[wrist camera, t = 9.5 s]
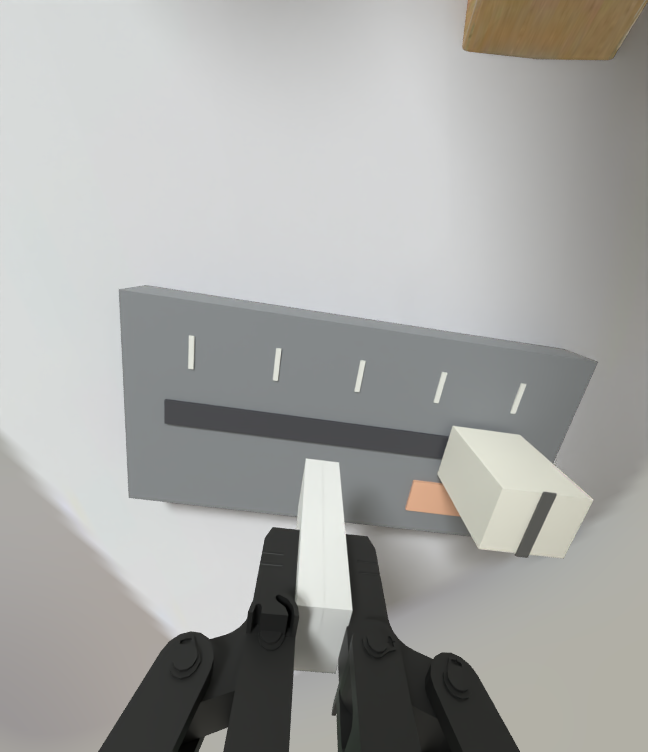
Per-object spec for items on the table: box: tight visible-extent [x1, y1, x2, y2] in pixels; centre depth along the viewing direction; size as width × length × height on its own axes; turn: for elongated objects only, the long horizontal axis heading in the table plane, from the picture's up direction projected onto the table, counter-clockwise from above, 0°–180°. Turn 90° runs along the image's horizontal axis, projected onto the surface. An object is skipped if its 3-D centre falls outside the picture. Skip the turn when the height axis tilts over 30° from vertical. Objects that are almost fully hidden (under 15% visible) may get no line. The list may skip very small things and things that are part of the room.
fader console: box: [119, 285, 598, 536], centre depth 23 cm, size 14×28×3 cm, turn 81°
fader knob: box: [438, 426, 594, 558], centre depth 19 cm, size 4×4×6 cm
